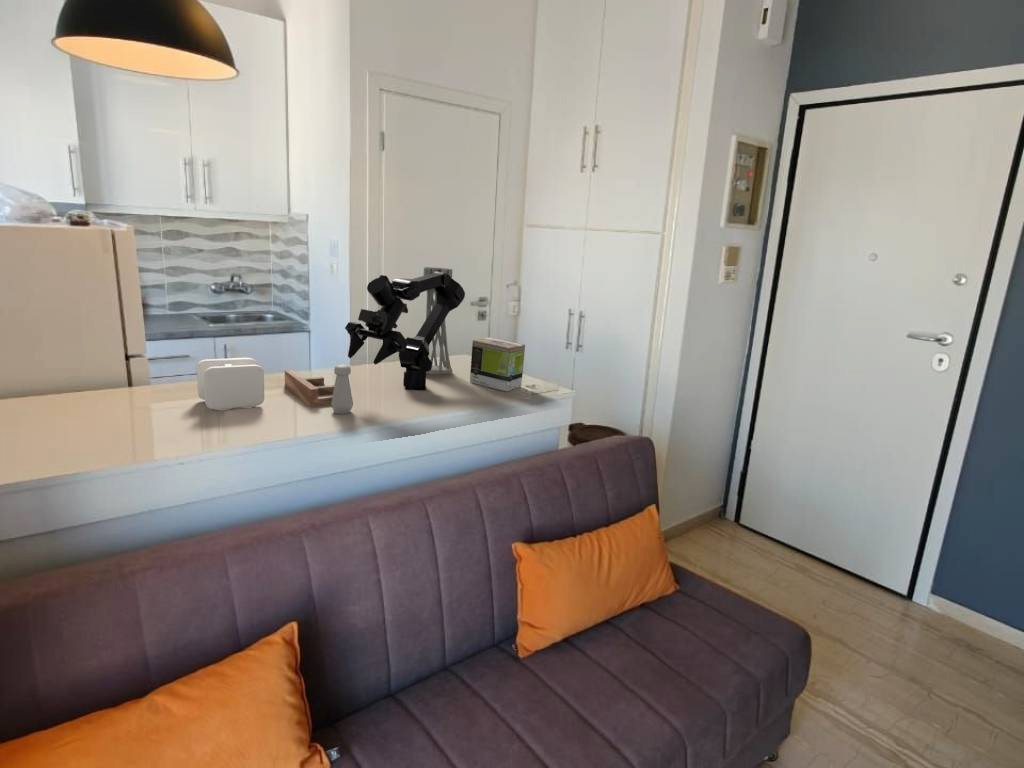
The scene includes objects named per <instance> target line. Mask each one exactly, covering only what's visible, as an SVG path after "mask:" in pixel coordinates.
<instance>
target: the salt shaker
mask: <svg viewBox="0 0 1024 768" xmlns="http://www.w3.org/2000/svg"><path fill="white" fill-rule="evenodd" d="M333 371H334V375H335V379H334V381H335V382H334V385H335V386H334V391H333V393H332V395H331V396H332V401H331V404H330V405H331V408H332V411H333V413H335V414H337V415H347V414H349V413H350V412H351V410H352V409H353V406H354V401H353V395H352V391H351V390H352V388H351V384H350V383H351V382H350V377H349V376H350V375H351V372H352V370H351V367H350V365H348V364H337V365H335V366H334V370H333Z"/></svg>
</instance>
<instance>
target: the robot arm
mask: <svg viewBox="0 0 1024 768" xmlns="http://www.w3.org/2000/svg"><path fill="white" fill-rule="evenodd" d="M433 288H434V290H435V291H436V293H437V294H436V302H437V303H436V305H435V306H434V308H433V309H432V308H431V310H432V311H431V313H430V314H429V316H428V317H427V319H426V318H425V320H424V322H423V323H422V325H421V327H420V329H419V330H418V332H417V333H416V334H415V336H414V337H410V336H407V337H406V338H405V337H404V335H403V334H402V332H401V331H398V330H393V329H397V328H398V325H397V321H398V320H399V318H400V317H401V315H402V313H404V314H408V313H409V309H408V304H407V303H404V302H403V301H404V300H405V301H409V302H411V301H414V300H416V299H417V298H419V297H420V296H421V295H420V294H421V293H423V292H427V290H430V289H433ZM366 289H367V290H366V291H367V293H369V295H370V296H371V297H372V299H373V300H374V301H375V303H376V304H377V305H378V306H381V307H380V309H378V310H375V311H373V310H370V309H369V310H368V309H364V308H361V309H360V310H359V311H360V312H359V315H358V318H357V320H358V321H359V322H355V321H349V322H348V323H347V324H346V326H345V327H344V329H345V330H346V331H347V334H348V335H349V338H350V341H349V346H348V347H349V348H348V351H347V352H348V354H347V357H348V358H349V359H351V358H353V357H354V356H355V355H356V354H357V352H359V350H360V349H361V348H362V347H363V346H364V345H365V342H364V341H366V340H367V339H368V338H370V339H371V338H372V339H375V340H379V341H380V340H382V345H381V347H380V349H379V351H378V352H377V354H376V356H375V357H374V359H373V364H374V365H378V364H379V363H381V362H382V361H384V360H386V359H387V358H389V357H391V356H392V355H394V354H396V353H398V359H399V364H400V368H404V369H405V371H403V378H402V379H403V383H402V385H403V387H404V389H405V390H406V391H407V390H409V391H410V390H411V391H426V390H427V387H426V382H427V373H426V372H429V370H431V368H432V365H434V364H433V363H434V362H433V363H432V362H431V358H430V357H429V356H430V344H431V343H432V339H433V338H434V339H435V337H436V333H437V331H438V330H440V329H441V325H442V323H443V321H444V320H445V321H446V318H447V316H448V314H449V313H450V312H452V311H453V310H455V309H456V308H458V307H460V305H461V303H463V301H464V299H465V296H466V292H465V290H464V288H463V286H462V285H461V284H460V283H459V282H457V281H456V280H455V279H453V277H452V278H451V277H450V275H449V274H447V273H444V272H433V273H432V274H428V275H425V276H423V275H421V276H418V277H415V278H394V279H393V280H392V281H390V279H389V277H388V276H387V275H384V274H380V275H379V277H375V279H372V280H371V281H370V282H369V283H368V284H367V286H366ZM360 321H361V322H362V323H365V324H364V325H362V323H360ZM364 326H365V327H366V328H368V329H366V328H365V327H364ZM439 328H440V329H439Z"/></svg>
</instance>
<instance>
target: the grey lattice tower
mask: <svg viewBox="0 0 1024 768" xmlns="http://www.w3.org/2000/svg"><path fill="white" fill-rule="evenodd" d="M453 270H454V269H453V268H443V267H429V266H424V267H423V274H422V276H425V275H428V274H432V273H433V272H444V273H447V274H449V275H450V277H451V278H452V279H453ZM436 294H437V293H436V291H435V290H434V288H433V289H430V290H427V291H426V307H425V308H426V310H425V314H426V315H425V320H426V319H427V317H428V316H429V314H430V313H431V311H432V309H433V308H434V306H435V305H436V303H437V302H436ZM431 343H432V352H431V356H430V360H431V362H432V363H434V364H433V365H432V368H431V370H429V372H426V374H439V375H440V374H451V373H453V368H452V367H451V366H452V365H451V362H450V355H449V349H448V336H447V327H446V319H445V320H444V321H443V323H442V325H441V326H440V328H439V330H438V331H437V333H436V334H435V336H434V338H433V339H432V341H431ZM437 343H438V344H439V360H437V359H438V358H437V349H436V348H437ZM438 361H439V362H438ZM438 363H439V364H438Z"/></svg>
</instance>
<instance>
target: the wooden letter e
mask: <svg viewBox="0 0 1024 768" xmlns="http://www.w3.org/2000/svg"><path fill="white" fill-rule="evenodd" d="M319 385H320V386H319ZM334 386H335V384H332V385H325V377H324V376H318V377H317V376H316V377H315V376H313V377H306V378H305V377H304V378H303V377H302V376H301V375H300V374H298V373H297V372H295V371H293V370H291V369H287V370H284V388H286V389H287V390H288V391H289V392H291V393H292V394H293V395H295V396H296V397H297V398H299V399H300V400H301V401H303V402H304V403H305V404H307V405H308V407H311V408H312V407H313V408H314V407H321V406H328V405H331V401H332V396H333V395H331V394H333V391H334ZM327 394H330V395H328V396H327ZM319 395H321V396H319ZM322 395H326V396H322Z"/></svg>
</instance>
